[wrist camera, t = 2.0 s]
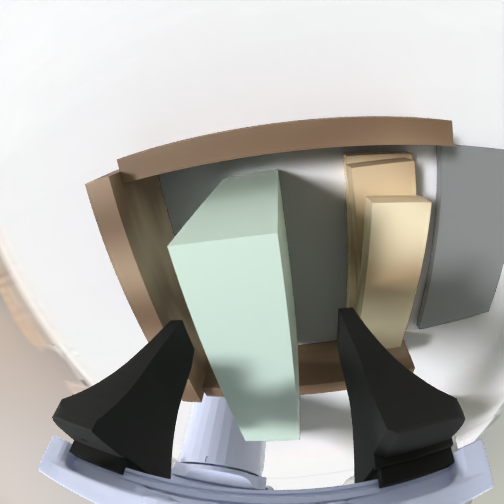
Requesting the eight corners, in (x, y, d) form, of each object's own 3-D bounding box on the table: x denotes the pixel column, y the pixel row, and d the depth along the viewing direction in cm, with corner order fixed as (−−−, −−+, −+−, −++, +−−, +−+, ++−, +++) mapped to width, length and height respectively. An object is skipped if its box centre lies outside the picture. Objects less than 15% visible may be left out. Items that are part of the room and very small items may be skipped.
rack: (397, 341, 20) (414, 387, 15) (199, 358, 22) (185, 405, 18) (415, 117, 12) (463, 122, 8) (131, 154, 15) (81, 172, 11)
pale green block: (296, 331, 20) (300, 439, 12) (257, 334, 21) (245, 440, 13) (277, 169, 15) (277, 233, 7) (225, 176, 15) (167, 246, 7)
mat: (485, 307, 18) (488, 311, 17) (416, 324, 19) (419, 329, 18) (513, 151, 12) (518, 152, 11) (436, 144, 13) (441, 145, 12)
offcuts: (394, 320, 19) (408, 353, 16) (342, 328, 20) (350, 363, 17) (408, 151, 14) (438, 161, 10) (340, 153, 14) (356, 163, 11)
